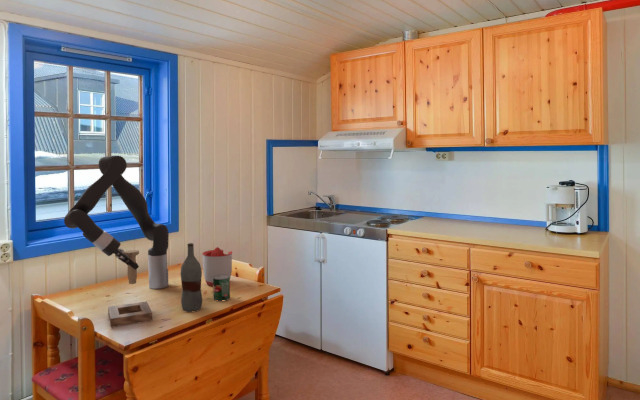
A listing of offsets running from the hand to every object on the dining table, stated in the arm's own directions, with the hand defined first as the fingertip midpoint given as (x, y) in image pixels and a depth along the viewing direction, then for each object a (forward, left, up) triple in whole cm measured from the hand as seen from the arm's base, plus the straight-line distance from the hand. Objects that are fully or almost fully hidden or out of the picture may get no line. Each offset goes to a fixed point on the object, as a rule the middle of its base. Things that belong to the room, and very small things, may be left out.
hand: (136, 266), depth 212 cm
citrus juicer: (-43, -18, -18) cm, 50 cm away
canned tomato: (-37, +8, -18) cm, 42 cm away
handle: (+2, 0, -8) cm, 8 cm away
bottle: (-21, +16, -18) cm, 32 cm away
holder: (+5, +15, -18) cm, 24 cm away
